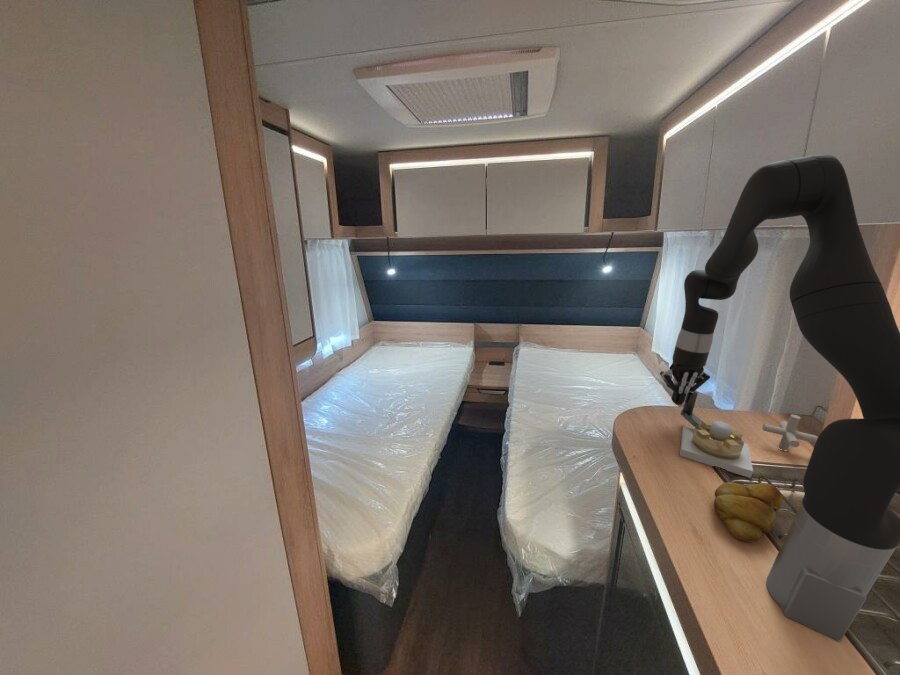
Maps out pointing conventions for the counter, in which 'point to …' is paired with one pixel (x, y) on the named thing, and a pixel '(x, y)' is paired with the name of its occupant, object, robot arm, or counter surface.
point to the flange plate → (690, 451)
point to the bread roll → (747, 508)
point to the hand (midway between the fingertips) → (677, 403)
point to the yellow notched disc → (705, 440)
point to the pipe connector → (789, 433)
